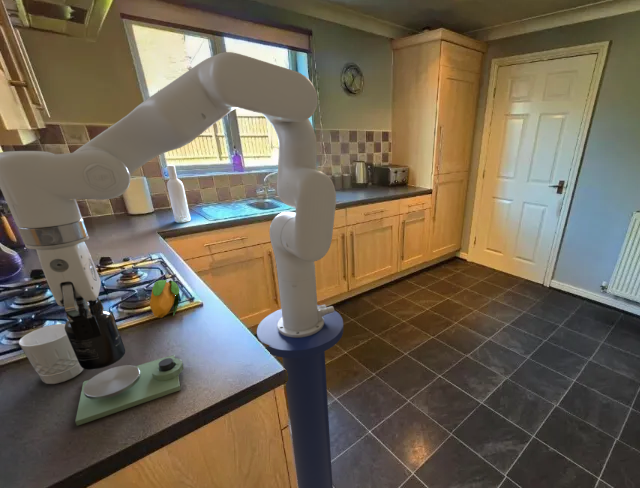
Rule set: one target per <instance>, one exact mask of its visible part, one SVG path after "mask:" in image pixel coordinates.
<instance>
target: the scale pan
mask: <svg viewBox="0 0 640 488" xmlns="http://www.w3.org/2000/svg"><path fill="white" fill-rule="evenodd" d="M135 366H136V365H132V364H131V365H130V364H126V365H125V364H124V365H119V366H118V365H117V366H114V367H111V368H108V369H105V370H103V371H101V372H99V373H97V374H96V375H94V376H93V377H91V378H90V379H88V380H89V381H88V382H87V383H86V384H85V386H84V388H83V392H84V395H85V396H86V397H87V398H89V399H93V400H100V399H106V398H110V397H113V396H116V395H118V394H121V393H123V392H125V391H126V390H128V389H130V388H131V387H132V386H134V385H135V384H136V383H137V382H138V380H139V379H140V376H141V373H140V370H139V369H138V368H137V367H135Z"/></svg>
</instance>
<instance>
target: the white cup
mask: <svg viewBox="0 0 640 488" xmlns="http://www.w3.org/2000/svg"><path fill="white" fill-rule="evenodd" d="M65 324H66V323H57V324H51V325H46V326H43V327H40V328H37V329H35V330H32V331H30V332H28V333H26V334H25V335H23V336H22V337H21V338H20V339H18V345H19V346H20V349H21V350H22V351H23V353H24V354H25V356H26V358H27V360H28V362H29V363H30V365H31V367H32V368H33V369H34V371H35V372H36V373H37V375H38V376H39V378H40V380H41V381H42V383H44V384H46V385H55V384H59V383H64V382H66V381H69V380H71V379H73V378H75V377H77V376H78V375H80V374H81V373H82V372H83V371H84V370H85V369H84V368H82V367H81V366H80V364H79V362H78V360H77V358H76V355H75V353H74V351H73V348H72V346H71V344H70V341H69V339H68V337H67V334H66V332H65V329H64V327H65Z"/></svg>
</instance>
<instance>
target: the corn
mask: <svg viewBox="0 0 640 488" xmlns="http://www.w3.org/2000/svg"><path fill="white" fill-rule="evenodd" d="M175 295H176V296H175ZM178 297H179V298H178ZM149 302H150V303H149V307H150V309H151V312H152V315H153V316H154V317H155V318H159V319H162V318H164V317H165V316H168V314H169V313H170V311H171V310H172V309H173V310H172V311H173V314H172V317H174V316H175V315H176V313H177V310H178V307H179V303H180V287H179V285H178V284H177V283H176V282H175V281H173V280H172V279H170V280H168V281H167V279H159V280H157V281H155V282H154V283H153V285H152V288H151V294H150V300H149Z"/></svg>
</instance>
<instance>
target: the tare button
mask: <svg viewBox="0 0 640 488" xmlns="http://www.w3.org/2000/svg"><path fill="white" fill-rule="evenodd" d="M174 366H175V365H174V362H173V359H171V358H167V359H163V360H162V361H160V362H159V368H160V371H162V372H166V371H169V370H171V369H173V368H174Z"/></svg>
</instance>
